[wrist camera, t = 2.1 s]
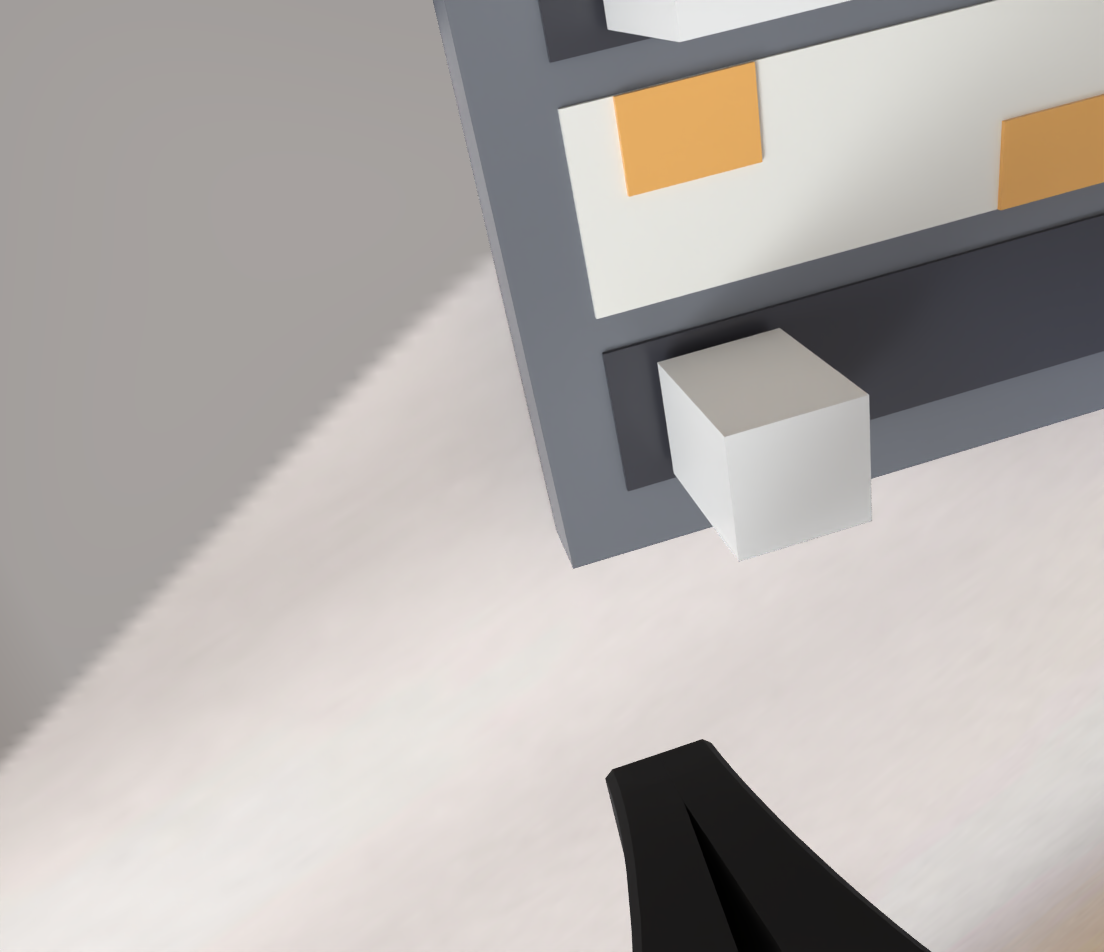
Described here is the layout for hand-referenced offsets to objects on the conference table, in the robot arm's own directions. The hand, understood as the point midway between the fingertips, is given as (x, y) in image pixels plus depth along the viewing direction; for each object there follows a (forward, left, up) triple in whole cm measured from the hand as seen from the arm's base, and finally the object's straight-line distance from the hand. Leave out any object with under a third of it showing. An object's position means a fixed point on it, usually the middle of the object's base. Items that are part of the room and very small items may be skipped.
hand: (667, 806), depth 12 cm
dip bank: (-7, -6, -9) cm, 13 cm away
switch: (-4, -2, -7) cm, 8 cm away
